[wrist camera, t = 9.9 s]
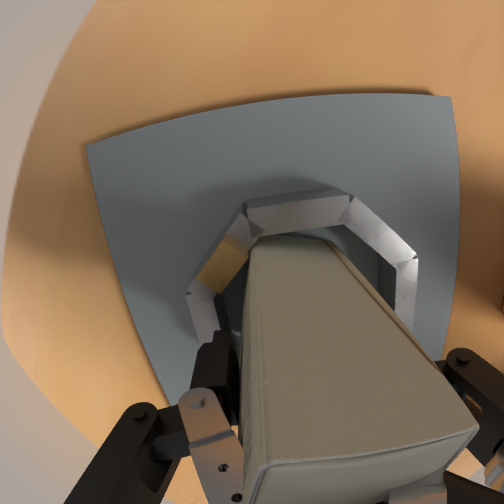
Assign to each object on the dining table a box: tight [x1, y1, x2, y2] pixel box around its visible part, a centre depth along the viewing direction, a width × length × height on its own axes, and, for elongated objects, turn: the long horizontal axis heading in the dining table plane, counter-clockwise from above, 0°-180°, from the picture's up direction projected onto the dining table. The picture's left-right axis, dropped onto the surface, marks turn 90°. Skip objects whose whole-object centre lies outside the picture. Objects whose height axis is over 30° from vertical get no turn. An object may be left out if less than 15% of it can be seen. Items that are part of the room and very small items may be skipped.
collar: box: [185, 187, 418, 364], centre depth 14 cm, size 11×11×3 cm
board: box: [86, 93, 460, 406], centre depth 16 cm, size 20×20×1 cm
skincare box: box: [238, 235, 479, 504], centre depth 10 cm, size 6×4×12 cm
